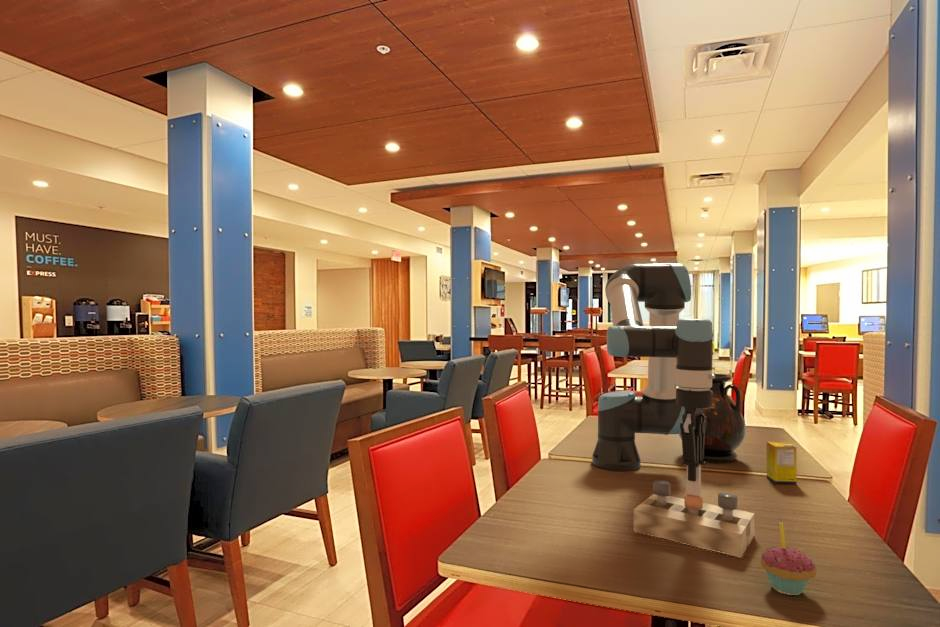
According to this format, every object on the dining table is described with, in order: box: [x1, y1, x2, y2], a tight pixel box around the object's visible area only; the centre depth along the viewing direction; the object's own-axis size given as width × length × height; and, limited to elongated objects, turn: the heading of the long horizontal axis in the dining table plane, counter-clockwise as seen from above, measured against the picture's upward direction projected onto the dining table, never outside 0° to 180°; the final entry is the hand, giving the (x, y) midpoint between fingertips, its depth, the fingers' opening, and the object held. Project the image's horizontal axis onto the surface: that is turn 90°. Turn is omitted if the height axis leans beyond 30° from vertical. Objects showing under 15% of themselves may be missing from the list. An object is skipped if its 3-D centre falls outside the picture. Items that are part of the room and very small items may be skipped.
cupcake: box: [760, 517, 817, 594], centre depth 96 cm, size 9×8×12 cm
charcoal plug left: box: [652, 480, 672, 506], centre depth 125 cm, size 4×4×5 cm
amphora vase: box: [678, 372, 747, 463], centre depth 184 cm, size 22×22×28 cm
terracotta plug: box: [683, 492, 704, 516], centre depth 121 cm, size 4×4×5 cm
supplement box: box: [766, 441, 798, 485], centre depth 158 cm, size 6×6×11 cm
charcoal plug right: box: [717, 492, 739, 521], centre depth 116 cm, size 4×4×5 cm
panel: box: [633, 493, 755, 556], centre depth 121 cm, size 22×14×5 cm, turn 53°
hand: (693, 494), depth 121 cm, fingers closed
